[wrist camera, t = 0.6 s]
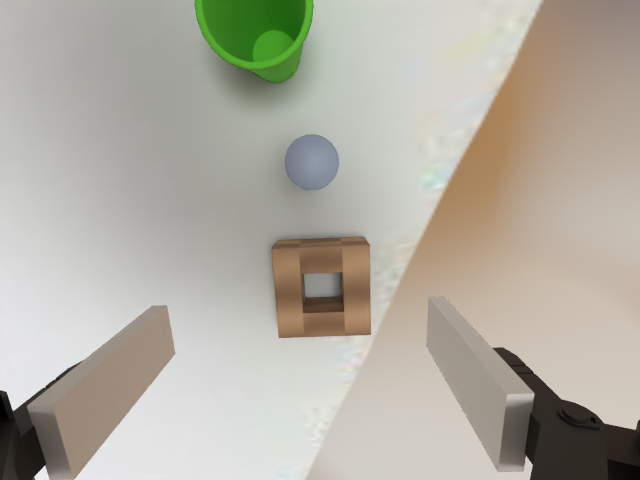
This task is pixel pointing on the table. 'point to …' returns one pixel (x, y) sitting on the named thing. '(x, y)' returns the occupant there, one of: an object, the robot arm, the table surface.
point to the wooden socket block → (322, 312)
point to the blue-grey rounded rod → (311, 162)
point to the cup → (257, 33)
